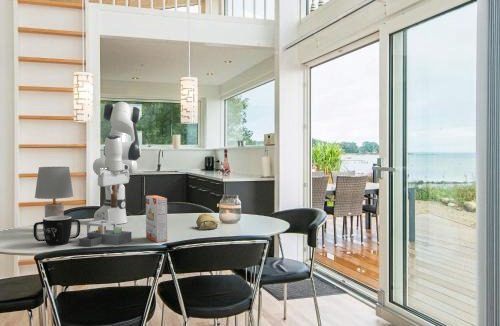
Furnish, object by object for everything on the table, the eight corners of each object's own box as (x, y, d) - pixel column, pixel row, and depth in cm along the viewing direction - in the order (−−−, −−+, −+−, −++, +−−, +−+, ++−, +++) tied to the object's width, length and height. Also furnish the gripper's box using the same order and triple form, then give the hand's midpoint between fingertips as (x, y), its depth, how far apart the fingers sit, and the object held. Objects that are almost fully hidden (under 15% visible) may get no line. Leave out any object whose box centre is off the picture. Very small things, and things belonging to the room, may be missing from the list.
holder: (79, 245, 193) (79, 238, 193) (90, 242, 200) (90, 235, 200) (91, 246, 191) (91, 239, 190) (102, 243, 197) (102, 237, 197)
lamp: (43, 234, 217) (43, 168, 216) (29, 229, 230) (28, 167, 229) (79, 229, 231) (79, 167, 230) (64, 225, 244) (63, 166, 243)
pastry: (204, 225, 248) (204, 211, 247) (222, 227, 242) (223, 213, 241) (190, 229, 235) (190, 214, 235) (208, 231, 229) (208, 216, 229)
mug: (29, 245, 192) (29, 219, 191) (57, 239, 207) (57, 214, 206) (57, 248, 186) (57, 221, 186) (84, 241, 201) (84, 216, 201)
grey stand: (86, 240, 203) (86, 223, 202) (101, 237, 212) (101, 220, 212) (117, 244, 195) (117, 225, 195) (131, 240, 205) (131, 222, 204)
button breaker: (96, 236, 204) (96, 226, 204) (101, 234, 208) (101, 225, 208) (102, 236, 203) (102, 227, 203) (107, 235, 206) (107, 226, 206)
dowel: (109, 207, 221) (109, 176, 220) (113, 206, 224) (113, 176, 223) (114, 207, 219) (114, 176, 218) (118, 207, 222) (118, 176, 221)
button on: (112, 237, 201) (112, 228, 200) (117, 236, 204) (117, 226, 204) (118, 238, 199) (118, 228, 199) (123, 236, 203) (123, 227, 202)
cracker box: (145, 237, 211) (145, 195, 210) (156, 236, 214) (156, 194, 213) (155, 243, 199) (155, 198, 198) (167, 241, 202) (167, 197, 202)
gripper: (104, 168, 209) (104, 196, 210) (131, 166, 228) (131, 191, 229) (94, 167, 212) (94, 195, 213) (121, 165, 231) (122, 191, 232)
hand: (114, 193), depth 221 cm, fingers closed on dowel, 3 cm apart
